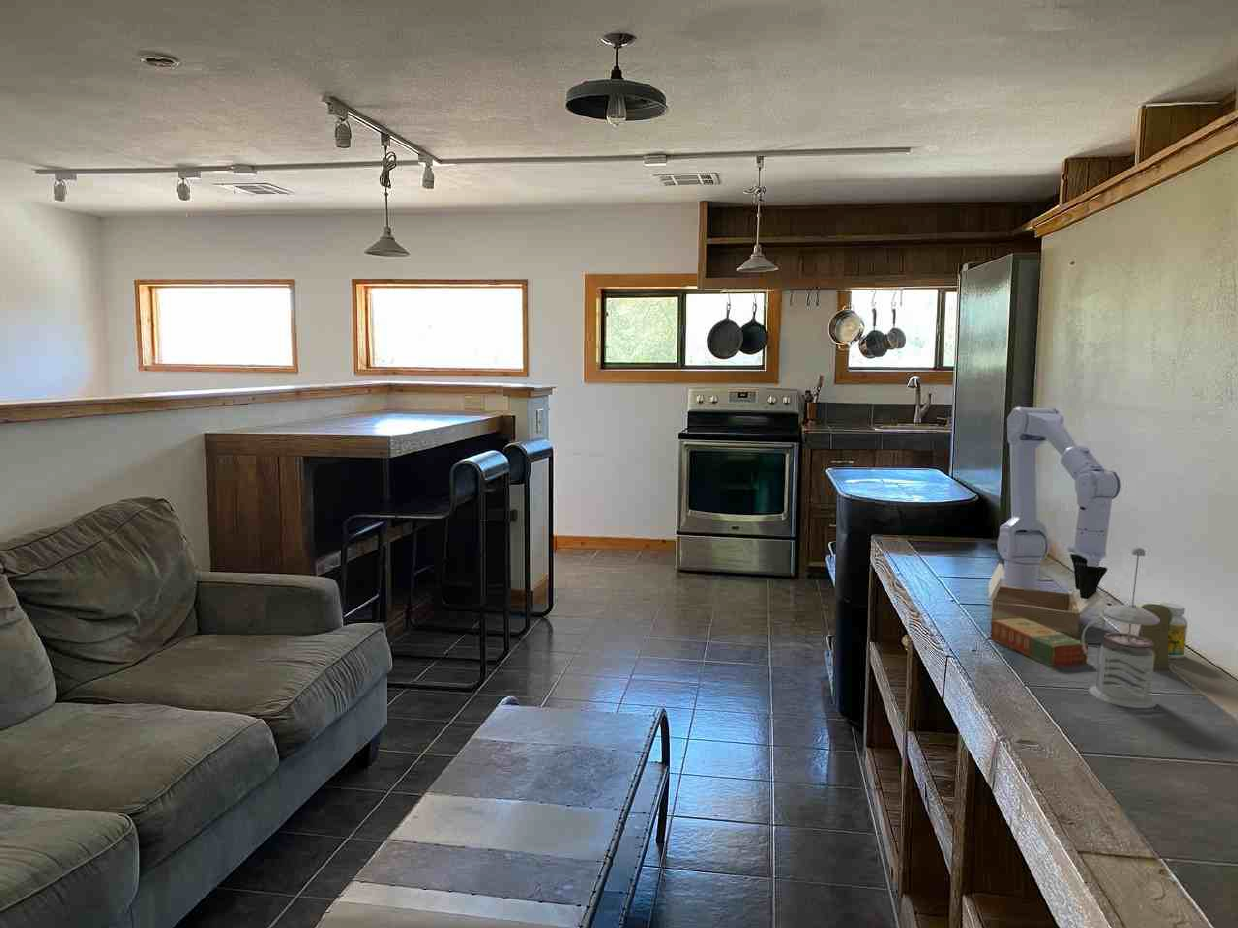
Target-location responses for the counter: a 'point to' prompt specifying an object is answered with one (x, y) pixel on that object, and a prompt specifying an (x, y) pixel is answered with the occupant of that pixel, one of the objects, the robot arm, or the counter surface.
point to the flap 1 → (996, 582)
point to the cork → (1158, 635)
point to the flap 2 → (1086, 601)
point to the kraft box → (1037, 608)
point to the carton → (1038, 642)
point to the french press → (1125, 657)
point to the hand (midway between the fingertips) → (1083, 593)
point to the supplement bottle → (1176, 631)
